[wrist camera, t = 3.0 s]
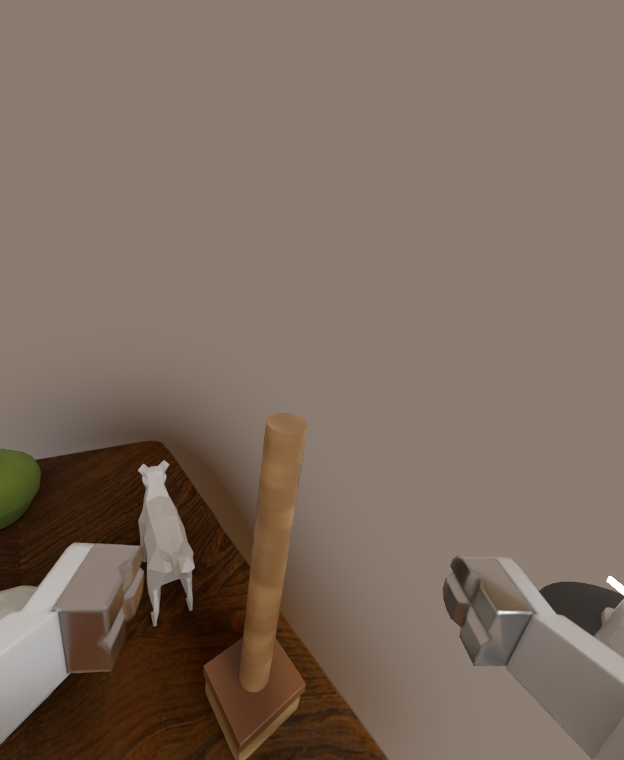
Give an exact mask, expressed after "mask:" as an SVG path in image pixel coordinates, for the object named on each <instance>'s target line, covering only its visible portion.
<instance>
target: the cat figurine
mask: <svg viewBox="0 0 624 760" xmlns="http://www.w3.org/2000/svg"><path fill="white" fill-rule="evenodd" d="M168 466H169V464H168V463H167V462H166V461H165V460H163V462H162V463H161V464H160V465H159V466H152V467H150V468H148V467H147V466H146V465H145V464H143V465H142V466H141V467H140V468H139V470H138V471H139V472H140V473H141V474H142V475H143V477H142V480H143V483H144V485H145V487H146V492H145V496H144V505H143V510H142V513H141V515H140V518H139V520H138V523H139V530H140V538H141V539H140V545H141V546H142V547H143V552H144V558H143V562H146V561H147V585H148V592H149V596H150V599H151V603H152V606H153V612H151V617H152V622H153V627H154V626H156V625H157V618H158V614H159V605H160V592H161V586H162V585H164V584H166V583H169V582H171V581H174V580H177V579H181V582H182V585H183V587H184V589H185V592H186V594H187V598H186V601H187V604H188V608H189V611H192V604H193V596H192V570H193V569H194V568H195V566H194V562H193V551H192V549H191V547H190V545H189V543H188V541H187V537H186V533H185V529H184V526H183V524H182V522H181V520H180V517H179V515H178V511H177V509H176V507H175V506H174V504H173V502H172V500H171V499H170V497H169V495H168V493H167V490H166V488H165V485H164V484H165V480H166V474H165V471H166V469H167V468H168Z"/></svg>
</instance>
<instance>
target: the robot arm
mask: <svg viewBox="0 0 624 760" xmlns="http://www.w3.org/2000/svg"><path fill="white" fill-rule="evenodd" d="M143 558H144V552H143V547H142V546H133V545H116V544H99V543H97V544H92V543H73V544H72V545H70V546H69V547H68V548H67V549H66V550H65V551H64V553H63V554H62V555H61V557H60V558H59V559H58V561H57V562H56V563H55V565H54V566H53V567H52V569H51V570H50V571H49V573H48V574H47V576H46V577H45V578H44V580H43V581H42V582H41V584H40V585H39V586H38V588H37V589H36V590H35V592H34V593H33V594H32V596H31V597H30V598H29V600H28V601H27V602H26V604H25V605H24V606H23V608H22V609H21V610H20V611H11V612H10V613H8V614H7V615H5V616H4V617H2V618H1V619H0V744H1V743H2V742H3V741H4V740H5V739H6V738H7V737H8V736H9V735H10V734H11V733H12V732H13V731H14V730H15V729H16V728H17V727H18V726H19V725H20V724H21V723H22V722H23V721H24V720H25V719H26V718H27V717H28V716H29V715H30V714H31V713H32V712H33V711H34V710H35V709H36V708H37V707H38V706H39V705H40V704H41V703H42V702H43V701H44V700H45V699H46V698H47V697H48V696H49V695H50V694H51V693H52V692H53V690H54V689H55V688H56V687H57V686H58V685H59V684H60V683H61V682H62V681H63V680H64V679H65V678H66V677H67V673H86V672H107V671H112V670H113V667H114V665H115V662H116V660H117V658H118V655H119V653H120V650H121V648H122V645H123V643H124V641H125V638H126V629H125V624H127V623H128V622H129V621H130V620H131V619H132V618H133V617H134V616H135V614H136V611H137V609H138V606H139V603H140V600H141V596H142V592H143V587H144V571H143V570H142V569H141V568H140V565H141V563H142V561H143ZM451 568H452V570H453V573H452V574H451V575H449V576H448V577H447V578H446V579H445V583H444V586H443V596H444V597H443V598H444V602H445V606H446V609H447V611H448V613H449V615H450V618H451V619H452V620H454V622H456V623H457V624H458V625H459V626H460V627H461V628H460V638H461V640H462V642H463V644H464V646H465V649H466V650H467V652H468V655H469V657H470V659H471V661H472V663H473V665H475V666H476V665H477V666H506V669H507V670H508V671H509V672H510V673H511V674H512V675H513V677H515V679H516V680H517V681H518V682H519V683H520V684H521V685H522V686H523V687H524V688H525V689H526V690H527V691H528V692H529V693H530V694H531V695H532V696H533V698H534V699H535V700H536V701H537V702H538V703H539V704H540V705H541V706H542V707H543V708H544V709H545V710H546V711H547V712H548V713H549V714H550V715H551V717H552V718H553V719H554V720H555V721H556V722H557V723H558V724H559V725H560V726H561V727H562V728H563V729H564V730H565V731H566V732H567V733H568V734H569V735H570V737H572V739H573V740H574V741H576V743H577V744H578V745H579V746H580V747H581V748H582V749H583V750H584V751H585V752H586V753H587V754H588V755H589V757H590V758H591V759H592V760H624V599H623V600H622V601H621V602H620V604H619V605H618V606H617V607H616V608H615V609H613V608H609V607H607V608H605V609H604V610H603V611H602V613H601V622H602V626H601V628H600V629H599V630H598V631H597V632H596V633H595V635H594V637H593V636H592V635H590V634H589V633H588V632H586V631H585V630H583V629H582V628H580V627H579V626H578V625H576V624H575V623H573V622H572V621H570V620H569V619H568V618H566V617H565V616H563V615H557V614H556V613H555V612H554V610H553V609H552V608H551V606H550V605H549V604H548V603H547V601H546V600H545V599H544V598H543V596H542V595H541V594H540V593H539V591H538V590H537V589H536V588H535V586H534V585H533V584H532V583H531V581H530V580H529V579H528V577H527V576H526V575H525V574H524V572H523V571H522V570H521V569H520V567H519V566H518V565H517V564H516V562H515V561H514V560H512V559H511V558H509V557H489V556H456V557H455V558H454V559H453V560H452V563H451ZM607 582H608V583H610V584H611V585H612V586H613V587H614V588H616V589H617V590H618V591H619V592H621V593H622V594H623V595H624V587H623V586H622V585H621V584H620V583H619V582H617V581H616V580H615V579H614V578H612V577H611V576H609V578H608V579H607Z"/></svg>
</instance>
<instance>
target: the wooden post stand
mask: <svg viewBox="0 0 624 760" xmlns="http://www.w3.org/2000/svg"><path fill="white" fill-rule="evenodd" d="M307 427H308V424H307V422H306V421H305V419H303V418H301V417H300V416H297V415H293V414H288V413H278V414H273V415H271V416H269V417H268V418H267V420H266V427H265V437H264V447H263V456H262V465H261V474H260V484H259V493H258V503H257V512H256V522H255V531H254V541H253V550H252V559H251V569H250V578H249V588H248V597H247V606H246V616H245V625H244V635H243V638H242V639H240V640H239V641H238V642H236V643H235V644H233V645H232V646H230V647H229V648H228V649H226V650H225V651H223V652H222V653H221V654H219V655H218V656H216V657H215V658H214V659H212V660H211V661H209V662H208V663H207V664H205V665H204V667H203V675H204V677H205V680H206V686H205V693H206V695H207V697H208V700H209V702H210V704H211V707H212V709H213V711H214V713H215V716H216V718H217V720H218V723H219V725H220V727H221V729H222V732H223V734H224V736H225V739H226V741H227V743H228V745H229V748H230V750H231V752H232V755H233V757H234V759H235V760H246V759H247V758H248V757H249V756H250V755H251V754H252V753H253V752H254V751H255V750H256V749H257V748H258V747H259V746H260V745H261V744H262V743H263V742H264V741H265V740H266V739H267V738H268V737H269V736H270V735H271V734H272V733H273V732H274V731H275V730H276V729H277V728H278V727H279V726H280V725H281V724H282V723H283V722H284V721H285V720H286V719H287V718H288V717H289V716H290V715H291V714H292V713H293V712H294V711H295V710H296V709H297V708H298V703H299V698H300V695H301V694H302V693H303V692H304V689H305V685H306V683H305V682H304V680H303V679H302V677H301V676H300V674H299V673H298V671H297V669H296V668H295V666H294V665H293V663H292V662H291V660H290V659H289V657H288V656H287V654H286V653H285V651H284V650H283V648H282V647H281V645H280V644H279V642H278V641H277V639H276V638H275V637H276V630H277V624H278V617H279V610H280V604H281V597H282V591H283V584H284V577H285V571H286V565H287V558H288V551H289V545H290V538H291V532H292V525H293V519H294V512H295V506H296V499H297V493H298V486H299V479H300V473H301V466H302V460H303V453H304V446H305V440H306V433H307Z"/></svg>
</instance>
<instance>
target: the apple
mask: <svg viewBox="0 0 624 760" xmlns="http://www.w3.org/2000/svg"><path fill="white" fill-rule="evenodd" d="M40 478H41V471H40V468H39V465H38V463H37V462H36V461H35V459H34V458H33V457H32V456H30V455H28V454H26V453H24V452H19V451H13V450H6V449H0V530H1V529H3V528H5V527H7V526H9V525H10V524H12V523H14V522H15V521H17V520H18V519H19V518H20V517H21V516H22V515H23V514H24V513H25V512H26V510H27V508H28V507H29V505H30V503H31V501H32V500H33V498H34V496H35V494H36V493H37V491H38V489H39V487H40Z"/></svg>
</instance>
